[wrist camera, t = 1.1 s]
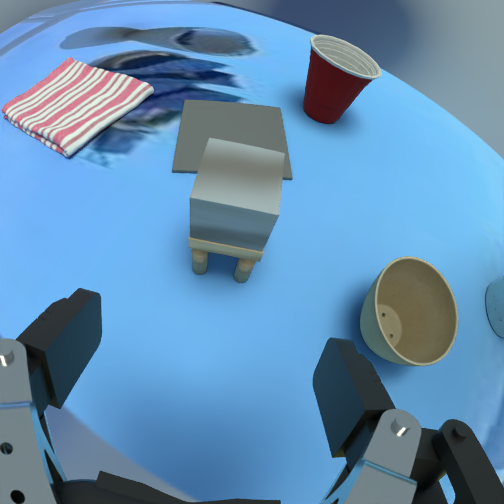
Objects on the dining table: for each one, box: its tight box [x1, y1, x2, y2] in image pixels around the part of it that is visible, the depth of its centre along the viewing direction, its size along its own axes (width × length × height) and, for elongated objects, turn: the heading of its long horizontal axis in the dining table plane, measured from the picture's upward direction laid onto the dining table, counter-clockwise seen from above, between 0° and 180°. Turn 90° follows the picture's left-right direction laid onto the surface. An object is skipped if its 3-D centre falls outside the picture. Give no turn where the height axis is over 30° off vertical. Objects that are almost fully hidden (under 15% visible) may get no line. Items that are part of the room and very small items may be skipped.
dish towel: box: [2, 57, 154, 157], centre depth 35 cm, size 17×23×4 cm
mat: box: [172, 100, 292, 180], centre depth 37 cm, size 14×14×1 cm
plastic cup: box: [303, 35, 381, 124], centre depth 38 cm, size 11×11×12 cm
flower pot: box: [360, 256, 458, 366], centre depth 26 cm, size 10×10×7 cm
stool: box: [188, 138, 285, 283], centre depth 24 cm, size 6×6×12 cm
